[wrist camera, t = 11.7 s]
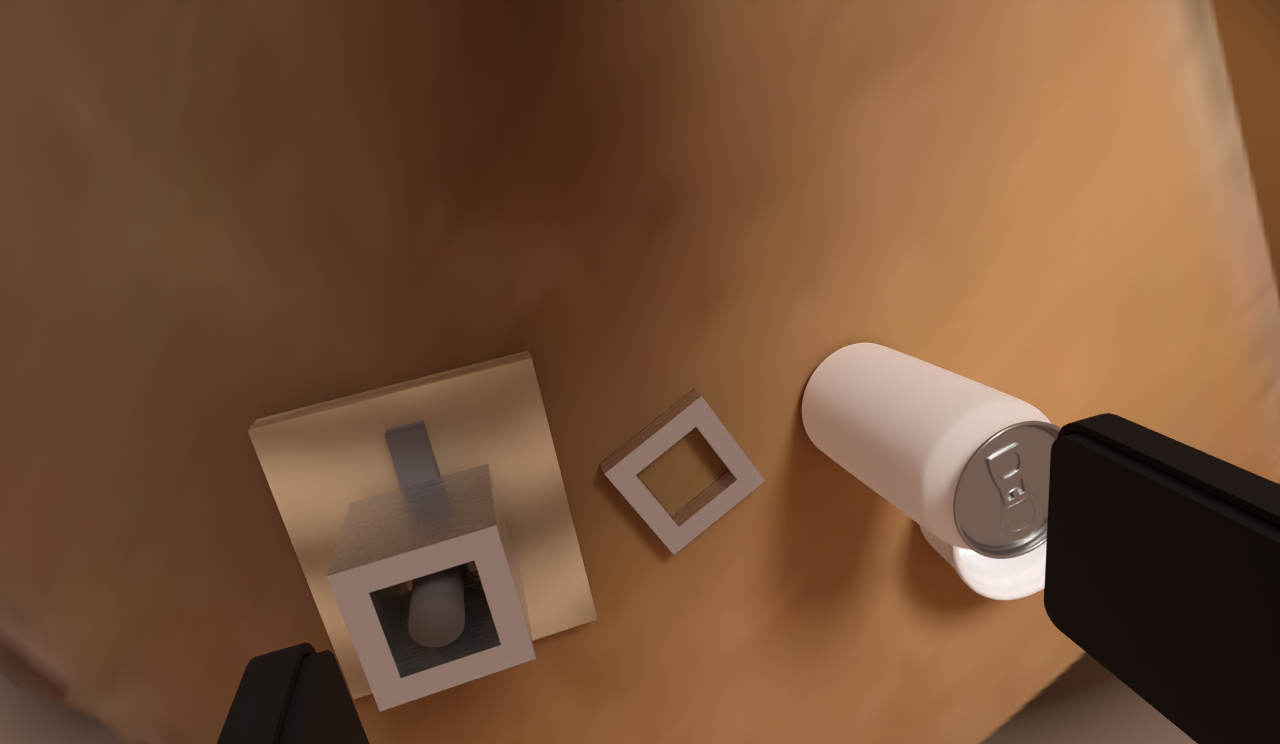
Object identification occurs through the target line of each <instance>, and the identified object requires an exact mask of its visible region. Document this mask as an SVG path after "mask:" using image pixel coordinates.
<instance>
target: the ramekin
mask: <svg viewBox="0 0 1280 744" xmlns="http://www.w3.org/2000/svg"><path fill="white" fill-rule="evenodd" d="M919 526H920V529H921V531H922V533H923V535H924V537H925V539H926V540H927V541H928V542H929V544H930V545H931V546H932V547H933V548H934V549H935V550H936V551H937V552H938V553H939V554H940V555H941V556H942V557H943V558H944V559H945V560H946V561H947V562H948V563H949V564H950V565H951V566H952V567H953V568H954V569H955V571H956V572H957V574H958V575H959V577H960V578H961V579H962V580H963V582H964V583H965V584H966V585H967V586H968V587H969V588H971V589H972V590H973V591H975V592H976V593H978V594H980V595H982V596H984V597H986V598H990V599H994V600H1014V599H1019V598H1023V597H1026V596H1029V595H1032V594H1034V593H1036V592H1038V591H1040V590H1042V589H1044V587H1045V565H1046V543H1047V541H1046V542H1045V543H1044V544H1042V545H1041V546H1039V547H1038V548H1036V549H1034V550H1033V551H1031V552H1029V553H1026V554H1024V555H1021V556H1018V557H1014V558H1008V559H994V558H989V557H985V556H983V555H980V554H978V553H976V552H975V551H973V550H970V549H964V548H959V547H956V546H953V545H951V544H948V543H947V542H945V541H943V540H941V539H939V538H938V537H937V536H935V535H934V534H932V533H931V532H929V531H928V530H926V529H925V528H924V527H922V526H921V525H920V524H919Z"/></svg>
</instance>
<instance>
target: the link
mask: <svg viewBox="0 0 1280 744" xmlns="http://www.w3.org/2000/svg"><path fill="white" fill-rule="evenodd" d="M474 560H475V564H476V567H477V570H476V571H472V572H469V573H466V574H464V605H465V625H464V629H463V631H462V633H461V634H460V636H459V637H458V638H457V639H456V640H454V641H453V642H452V643H450V644H448V645H445V646H442V647H426V646H423V645H421V644H419V643H417V642H416V641H415V640H414V639H413V638H412V636H411V635H410V633H409V629H408V622H409V612H410V601H411V591H412V590H411V591H409V588H408V585H407V582H406V581H409V580H412V579H416V578H419V577H422V576H425V575H428V574H432V573H435V572H438V571H441V570H445V569H448V568H451V567H454V566H458V565H461V564H464V563H467V562H470V561H474ZM327 578H328V581H329V583H330V586H331V588H332V591H333V593H334V596H335V599H336V601H337V604H338V606H339V609H340V611H341V614H342V616H343V619H344V622H345V624H346V627H347V629H348V632H349V634H350V637H351V639H352V642H353V644H354V647H355V650H356V652H357V655H358V657H359V660H360V662H361V665H362V667H363V670H364V673H365V675H366V678H367V680H368V683H369V685H370V688H371V690H372V693H373V695H374V698H375V701H376V703H377V706H378V708H379V711H380V712H381V711H384V710H386V709H389V708H392V707H395V706H398V705H401V704H404V703H407V702H410V701H413V700H416V699H419V698H422V697H425V696H428V695H431V694H434V693H437V692H439V691H442V690H445V689H448V688H451V687H454V686H457V685H460V684H463V683H466V682H469V681H472V680H475V679H478V678H481V677H484V676H487V675H490V674H492V673H495V672H498V671H501V670H504V669H507V668H510V667H513V666H516V665H519V664H522V663H525V662H528V661H531V660H534V659H536V655H535V649H534V644H533V638H532V632H531V627H530V621H529V615H528V609H527V604H526V598H525V592H524V587H523V581H522V576H521V573H520V569H519V566H518V563H517V559H516V556H515V552H514V549H513V546H512V542H511V539H510V535H509V532H508V529H507V525H506V522H505V518H504V515H503V511H502V508H501V505H500V501H499V498H498V494H497V491H496V488H495V484H494V481H493V477H492V474H491V471H490V467H489V464H485V465H481V466H478V467H474V468H471V469H467V470H464V471H460V472H457V473H453V474H450V475H446V476H443V477H439V478H436V479H432V480H429V481H425V482H422V483H418V484H415V485H411V486H408V487H404V488H401V489H397V490H394V491H390V492H387V493H383V494H380V495H376V496H373V497H369V498H366V499H362V500H359V501H355V502H352V503H350V504H349V507H348V510H347V513H346V517H345V520H344V523H343V526H342V529H341V533H340V536H339V539H338V542H337V546H336V549H335V552H334V555H333V558H332V562H331V565H330V568H329V571H328V574H327Z"/></svg>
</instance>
